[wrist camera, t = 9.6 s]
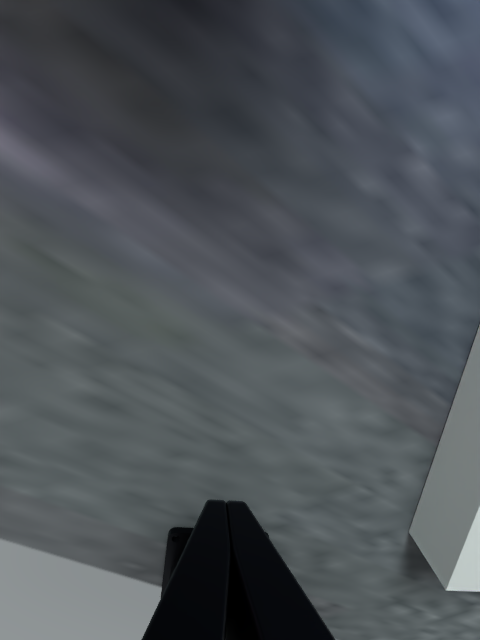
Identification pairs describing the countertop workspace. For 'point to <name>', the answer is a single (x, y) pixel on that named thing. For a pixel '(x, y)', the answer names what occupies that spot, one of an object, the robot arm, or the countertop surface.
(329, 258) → the countertop surface
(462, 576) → the keypad
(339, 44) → the countertop surface
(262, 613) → the robot arm
